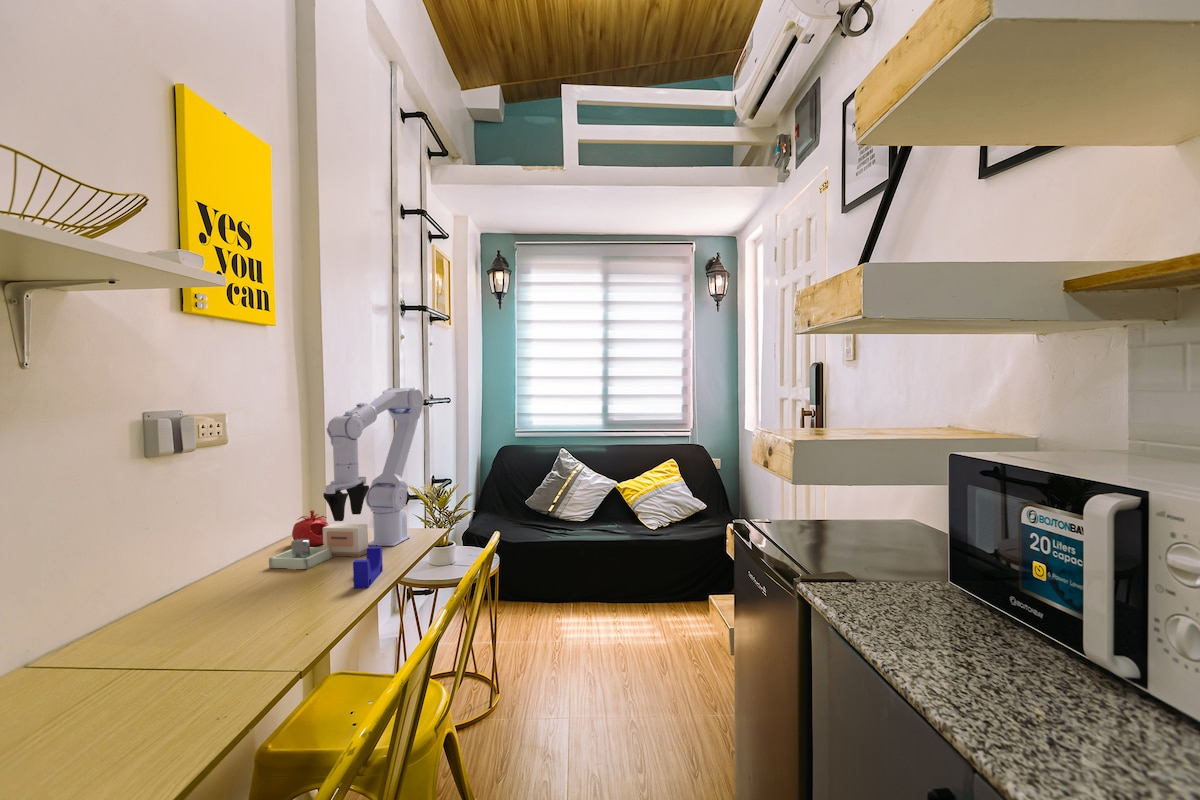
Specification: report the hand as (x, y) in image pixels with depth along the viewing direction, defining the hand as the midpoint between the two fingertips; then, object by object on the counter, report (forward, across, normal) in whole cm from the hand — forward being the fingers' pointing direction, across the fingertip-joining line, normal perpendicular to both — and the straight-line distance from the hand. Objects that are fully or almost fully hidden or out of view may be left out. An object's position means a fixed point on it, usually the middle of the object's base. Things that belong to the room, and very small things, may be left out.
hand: (347, 517), depth 154 cm
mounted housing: (+10, -4, -4) cm, 12 cm away
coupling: (+10, +5, -10) cm, 15 cm away
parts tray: (+10, +5, -10) cm, 15 cm away
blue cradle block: (+11, +15, +14) cm, 23 cm away
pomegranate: (+11, -12, -19) cm, 25 cm away
